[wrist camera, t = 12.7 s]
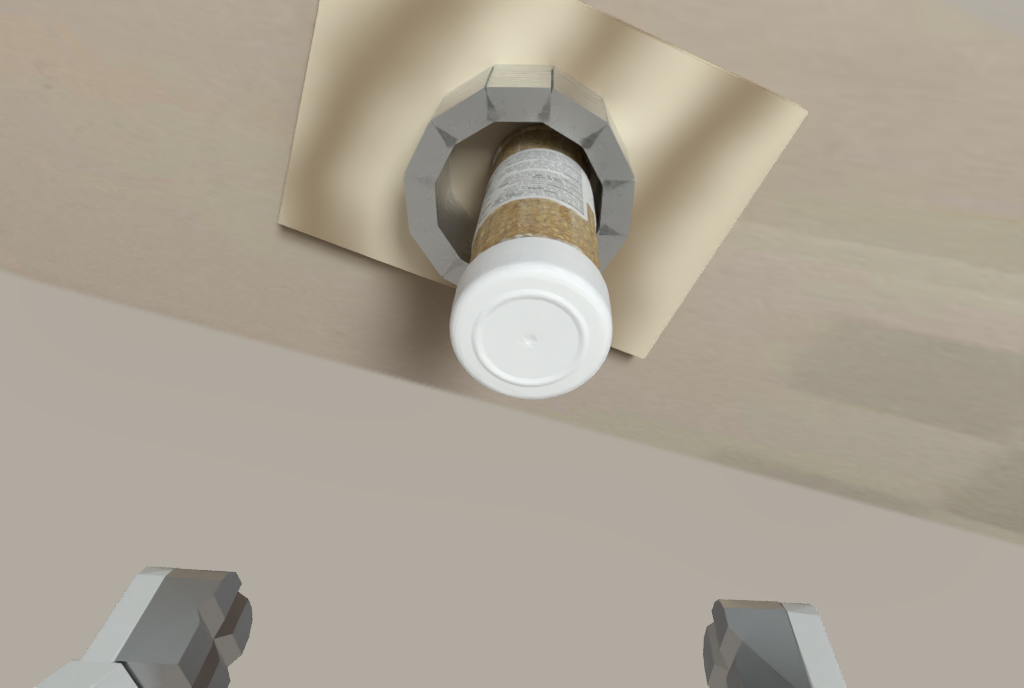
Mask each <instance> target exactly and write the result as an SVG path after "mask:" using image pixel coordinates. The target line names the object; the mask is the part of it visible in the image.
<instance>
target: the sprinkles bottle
mask: <svg viewBox="0 0 1024 688" xmlns="http://www.w3.org/2000/svg"><path fill="white" fill-rule="evenodd" d="M590 175H591V169H590V163H589V160H588V157H587V154H586V152H585V151H584V149H583V148H582V146H581V145H579V144H577V143H576V142H574V141H572V140H571V139H569V138H568V137H566V136H564V135H563V134H561V133H559V132H558V131H556V130H554V129H553V128H551V127H550V126H548V125H543V124H537V125H530V126H525V127H523V128H521V129H519V130H517V131H515V132H513V133H512V134H511V135H509V136H508V137H507V138H506V139H505V140H504V141H503V142H502V143H501V144H500V146H499V147H498V149H497V150H496V152H495V155H494V159H493V161H492V165H491V171H490V180H489V182H488V185H487V188H486V192H485V196H484V199H483V203H482V207H481V212H480V216H479V219H478V223H477V227H476V231H475V234H474V238H473V243H472V251H471V259H470V263H469V265H468V266H467V268H466V269H465V271H464V272H463V274H462V276H461V278H460V280H459V283H458V285H457V289H456V293H455V297H454V301H453V305H452V311H451V316H450V324H449V331H450V339H451V344H452V348H453V351H454V353H455V355H456V357H457V359H458V361H459V362H460V364H461V365H462V367H463V368H464V369H465V370H466V371H467V373H468V374H469V375H470V376H471V377H473V378H474V379H475V380H476V381H478V382H479V383H480V384H482V385H483V386H485V387H487V388H488V389H490V390H492V391H494V392H497V393H500V394H502V395H506V396H509V397H514V398H520V399H545V398H552V397H555V396H559V395H562V394H565V393H568V392H570V391H572V390H574V389H576V388H578V387H579V386H581V385H582V384H584V383H585V382H587V381H588V380H589V379H590V378H591V377H592V376H593V375H594V374H595V373H596V372H597V371H598V370H599V368H600V367H601V366H602V364H603V362H604V360H605V359H606V357H607V355H608V352H609V349H610V346H611V341H612V331H613V328H612V315H611V306H610V299H609V293H608V289H607V285H606V283H605V281H604V279H603V277H602V275H601V273H600V266H599V258H598V250H597V238H596V216H595V208H594V200H593V193H592V188H591V185H590Z"/></svg>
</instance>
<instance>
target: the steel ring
mask: <svg viewBox="0 0 1024 688" xmlns="http://www.w3.org/2000/svg"><path fill="white" fill-rule="evenodd" d="M493 122H543V123H545V124H546V125H548V126H550V127H551V128H553V129H554V130H556V131H558V132H559V133H561V134H563V135H564V136H566V137H568V138H569V139H571V140H572V141H574V142H576V143H577V144H579V145H581V146H582V147H583V148H584V150H585V152H586V154H587V156H588V158H589V160H590V162H591V164H592V166H593V168H594V170H595V172H596V181H595V192H594V194H593V200H594V208H595V216H596V238H597V250H598V258H599V266H600V273H602V272H603V270H604V269H605V268H606V267H607V265H608V264H609V263H610V261H611V260H612V259H613V257H614V256H615V255H616V253H617V252H618V251H619V249H620V248H621V247H622V245H623V244H624V243H625V241H626V240H627V239H628V236H629V231H630V223H631V214H632V205H633V197H634V188H635V177H634V173H633V170H632V167H631V163H630V160H629V157H628V153H627V150H626V147H625V144H624V142H623V140H622V138H621V136H620V134H619V131H618V129H617V127H616V125H615V123H614V121H613V119H612V117H611V115H610V112H609V110H608V108H607V106H606V104H605V102H604V100H603V98H601V95H599V94H598V93H596V92H594V91H593V90H591V89H590V88H588V87H587V86H585V85H584V84H582V83H580V82H579V81H577V80H576V79H574V78H573V77H571V76H570V75H568V74H566V73H565V72H563V71H562V70H560V69H559V68H557V67H556V66H553V68H552V70H551V65H525V64H495V66H493V65H492V66H490V67H489V68H487V69H486V70H484V71H482V72H481V73H479V74H478V75H476V76H474V77H473V78H471V79H470V80H468V81H466V82H465V83H463V84H462V85H460V86H458V87H457V88H455V89H454V90H452V91H450V92H449V93H447V94H446V96H444V98H443V100H442V101H441V103H440V105H439V106H438V108H437V110H436V111H435V113H434V115H433V116H432V118H431V120H430V121H429V123H428V125H427V127H426V129H425V131H424V133H423V136H422V138H421V140H420V142H419V144H418V146H417V148H416V150H415V152H414V154H413V156H412V158H411V160H410V162H409V164H408V167H407V169H406V171H405V173H404V174H405V175H404V177H403V178H404V187H405V196H406V206H407V215H408V224H409V231H411V233H410V234H411V235H412V237H413V238H414V239H415V241H416V242H417V244H418V245H419V246H420V248H421V249H422V251H423V252H424V253H425V255H426V256H427V258H428V259H429V260H430V262H431V263H432V265H433V266H434V267H435V269H436V270H437V272H438V273H439V274H440V276H443V275H444V276H443V278H444V279H446V280H448V281H450V282H451V283H453V284H455V285H458V283H459V280H460V278H461V276H462V274H463V272H464V271H465V269H466V268H467V266H468V265H469V263H470V259H471V251H472V243H473V238H474V234H475V231H476V227H477V224H476V223H474V222H473V221H471V219H470V218H469V216H468V215H467V213H466V212H465V210H464V209H463V207H462V205H461V204H460V202H459V201H458V199H457V198H456V196H455V195H454V193H453V192H452V190H451V179H450V163H449V155H450V153H451V151H452V149H453V147H454V145H455V144H457V143H459V142H461V141H462V140H464V139H466V138H467V137H469V136H471V135H472V134H474V133H476V132H478V131H479V130H481V129H483V128H484V127H486V126H488V125H489V124H491V123H493Z"/></svg>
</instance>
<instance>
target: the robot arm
mask: <svg viewBox="0 0 1024 688" xmlns="http://www.w3.org/2000/svg"><path fill="white" fill-rule="evenodd" d="M240 586H241V581H240V579H239V577H238V575H237V574H236V572H225V571H208V570H192V569H179V568H166V567H145V568H144V569H143V570H142V571H141V572H139V573H138V574H137V575H136V576H135V578H134V579H133V581H132V582H131V584H130V585H129V587H128V588H127V590H126V591H125V593H124V595H123V596H122V597H121V599H120V601H119V602H118V604H117V605H116V607H115V608H114V610H113V611H112V613H111V614H110V616H109V617H108V619H107V620H106V622H105V623H104V625H103V627H102V628H101V630H100V631H99V633H98V635H97V636H96V637H95V639H94V641H93V642H92V643H91V645H90V647H89V648H88V650H87V651H86V653H85V654H84V656H83V657H82V659H81V660H71V661H70V662H68V663H67V664H65V665H64V666H63V667H61V668H60V669H58V670H57V671H56V672H54V673H53V674H52V675H51V676H49V677H47V678H46V679H45V680H44V681H42V682H41V683H39V684H38V685H37V686H35V687H34V688H228V685H229V683H230V677H229V673H228V668H227V667H228V666H229V665H230V664H231V663H233V662H234V661H235V660H236V659H237V658H238V657H240V656H241V655H242V653H243V650H244V648H245V646H246V643H247V641H248V638H249V634H250V629H251V624H252V607H251V605H250V602H249V600H248V598H246V597H245V596H243V595H242V594H240V593H239V592H238V590H239V588H240ZM712 615H713V619H714V622H713V623H712V624H710V625H709V626H707V628H706V632H705V636H704V648H703V657H704V666H705V673H706V679H707V684H708V686H709V687H710V688H847V686H846V684H845V681H844V679H843V676H842V674H841V671H840V668H839V665H838V663H837V660H836V657H835V655H834V652H833V649H832V647H831V644H830V641H829V639H828V636H827V633H826V631H825V628H824V626H823V623H822V620H821V618H820V615H819V612H818V611H817V610H816V609H815V607H814V606H812V605H810V604H801V603H780V602H774V601H748V600H722V599H719V600H717V601H716V602H715V603H714V606H713V609H712Z"/></svg>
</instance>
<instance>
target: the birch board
mask: <svg viewBox="0 0 1024 688" xmlns="http://www.w3.org/2000/svg"><path fill="white" fill-rule="evenodd" d="M495 64H525V65H551V70H552V68H553V66H556V67H557V68H559V69H560V70H562V71H563V72H565V73H566V74H568V75H570V76H571V77H573V78H574V79H576V80H577V81H579V82H580V83H582V84H584V85H585V86H587V87H588V88H590V89H591V90H593V91H594V92H596V93H598V94H599V95H601V98H603V100H604V102H605V104H606V106H607V108H608V110H609V112H610V115H611V117H612V119H613V121H614V123H615V125H616V127H617V129H618V131H619V134H620V136H621V138H622V140H623V142H624V144H625V147H626V150H627V153H628V157H629V160H630V163H631V167H632V170H633V173H634V177H635V188H634V197H633V205H632V214H631V223H630V231H629V236H628V239H627V240H626V241H625V243H624V244H623V245H622V247H621V248H620V249H619V251H618V252H617V253H616V255H615V256H614V257H613V259H612V260H611V261H610V263H609V264H608V265H607V267H606V268H605V269H604V270H603V272H602V273H601V275H602V277H603V279H604V281H605V283H606V285H607V289H608V293H609V299H610V306H611V315H612V328H613V331H612V341H611V346H610V347H613V348H615V349H618V350H621V351H623V352H626V353H629V354H631V355H634V356H637V357H640V358H642V359H644V358H645V357H646V355H647V354H648V352H649V351H650V349H651V348H652V346H653V345H654V343H655V342H656V340H657V339H658V337H659V336H660V334H661V333H662V331H663V330H664V328H665V327H666V325H667V324H668V322H669V321H670V319H671V318H672V316H673V315H674V313H675V312H676V310H677V309H678V307H679V306H680V304H681V303H682V301H683V300H684V298H685V297H686V295H687V294H688V292H689V291H690V289H691V288H692V286H693V285H694V283H695V282H696V280H697V279H698V277H699V276H700V274H701V273H702V271H703V270H704V268H705V267H706V265H707V264H708V262H709V261H710V259H711V258H712V256H713V255H714V253H715V252H716V250H717V249H718V247H719V246H720V244H721V243H722V241H723V240H724V238H725V237H726V235H727V234H728V232H729V231H730V229H731V228H732V226H733V225H734V223H735V222H736V220H737V219H738V217H739V216H740V214H741V213H742V211H743V210H744V208H745V207H746V205H747V204H748V202H749V201H750V199H751V198H752V196H753V195H754V193H755V192H756V190H757V189H758V187H759V186H760V184H761V183H762V181H763V180H764V178H765V177H766V175H767V174H768V172H769V171H770V169H771V168H772V166H773V165H774V163H775V162H776V160H777V159H778V157H779V156H780V154H781V153H782V151H783V150H784V148H785V147H786V145H787V144H788V142H789V141H790V139H791V138H792V136H793V135H794V133H795V132H796V130H797V129H798V127H799V126H800V124H801V123H802V121H803V120H804V118H805V117H806V115H807V114H808V112H807V111H806V110H805V109H804V108H802V107H801V106H800V105H798V104H796V103H794V102H792V101H790V100H788V99H785V98H783V97H781V96H779V95H777V94H775V93H773V92H771V91H769V90H766V89H764V88H762V87H760V86H758V85H756V84H754V83H752V82H750V81H747V80H745V79H743V78H741V77H739V76H737V75H735V74H733V73H730V72H728V71H726V70H724V69H722V68H720V67H718V66H716V65H714V64H711V63H709V62H707V61H705V60H703V59H701V58H699V57H697V56H695V55H692V54H690V53H688V52H686V51H684V50H682V49H680V48H678V47H676V46H673V45H671V44H669V43H667V42H665V41H663V40H661V39H659V38H656V37H654V36H652V35H650V34H648V33H646V32H644V31H642V30H640V29H637V28H635V27H633V26H631V25H629V24H627V23H625V22H623V21H621V20H618V19H616V18H614V17H612V16H610V15H608V14H606V13H604V12H602V11H599V10H597V9H595V8H593V7H591V6H589V5H587V4H585V3H582V2H580V1H578V0H320V3H319V8H318V14H317V19H316V24H315V30H314V35H313V40H312V45H311V51H310V56H309V61H308V67H307V72H306V77H305V82H304V88H303V93H302V98H301V104H300V109H299V114H298V119H297V125H296V130H295V135H294V141H293V146H292V151H291V157H290V162H289V167H288V172H287V178H286V183H285V188H284V194H283V199H282V204H281V209H280V215H279V220H278V223H279V224H282V225H284V226H287V227H290V228H292V229H295V230H298V231H300V232H303V233H306V234H309V235H311V236H314V237H317V238H319V239H322V240H325V241H327V242H330V243H333V244H335V245H338V246H341V247H343V248H346V249H349V250H352V251H354V252H357V253H360V254H362V255H365V256H368V257H370V258H373V259H376V260H378V261H381V262H384V263H387V264H389V265H392V266H395V267H397V268H400V269H403V270H405V271H408V272H411V273H413V274H416V275H419V276H422V277H424V278H427V279H430V280H432V281H435V282H438V283H440V284H443V285H446V286H448V287H451V288H454V289H457V285H455V284H453V283H451V282H450V281H448V280H446V279H444V278H443V276H444V275H443V276H440V274H439V273H438V272H437V270H436V269H435V267H434V266H433V265H432V263H431V262H430V260H429V259H428V258H427V256H426V255H425V253H424V252H423V251H422V249H421V248H420V246H419V245H418V244H417V242H416V241H415V239H414V238H413V237H412V235H411V234H410V233H411V231H409V224H408V215H407V206H406V196H405V187H404V178H403V177H404V175H405V174H404V173H405V171H406V169H407V167H408V164H409V162H410V160H411V158H412V156H413V154H414V152H415V150H416V148H417V146H418V144H419V142H420V140H421V138H422V136H423V133H424V131H425V129H426V127H427V125H428V123H429V121H430V120H431V118H432V116H433V115H434V113H435V111H436V110H437V108H438V106H439V105H440V103H441V101H442V100H443V98H444V96H446V94H447V93H449V92H450V91H452V90H454V89H455V88H457V87H458V86H460V85H462V84H463V83H465V82H466V81H468V80H470V79H471V78H473V77H474V76H476V75H478V74H479V73H481V72H482V71H484V70H486V69H487V68H489V67H490V66H492V65H493V66H495ZM537 124H543V125H546V124H545V123H543V122H493V123H491V124H489V125H488V126H486V127H484V128H483V129H481V130H479V131H478V132H476V133H474V134H472V135H471V136H469V137H467V138H466V139H464V140H462V141H461V142H459V143H457V144H455V145H454V147H453V149H452V151H451V153H450V155H449V163H450V179H451V190H452V192H453V193H454V195H455V196H456V198H457V199H458V201H459V202H460V204H461V205H462V207H463V209H464V210H465V212H466V213H467V215H468V216H469V218H470V219H471V221H473V222H474V223H476V224H477V223H478V219H479V216H480V212H481V207H482V203H483V199H484V196H485V192H486V188H487V185H488V182H489V180H490V171H491V165H492V161H493V159H494V155H495V152H496V150H497V149H498V147H499V146H500V144H501V143H502V142H503V141H504V140H505V139H506V138H507V137H508V136H509V135H511V134H512V133H513V132H515V131H517V130H519V129H521V128H523V127H525V126H530V125H537ZM582 148H583V147H582ZM583 149H584V148H583ZM584 151H585V150H584ZM587 157H588V156H587ZM588 160H589V158H588ZM589 163H590V169H591V175H590V185H591V188H592V193H593V194H594V192H595V181H596V172H595V170H594V168H593V166H592V164H591V162H590V160H589Z"/></svg>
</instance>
